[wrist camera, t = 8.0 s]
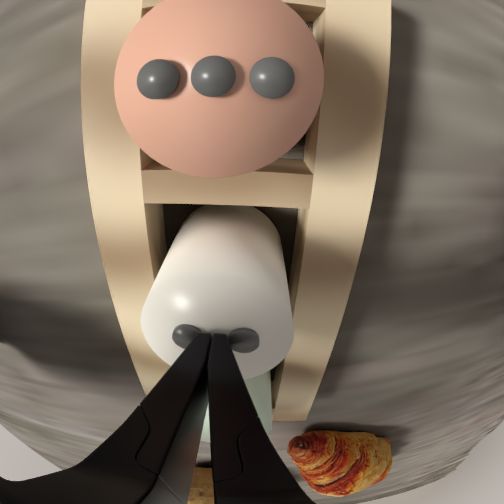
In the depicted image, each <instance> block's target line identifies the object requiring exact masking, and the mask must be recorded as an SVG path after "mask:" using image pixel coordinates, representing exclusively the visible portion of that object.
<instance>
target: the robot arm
mask: <svg viewBox="0 0 504 504" xmlns="http://www.w3.org/2000/svg"><path fill="white" fill-rule="evenodd" d="M208 404H209V427H210V446H211V462H212V477H213V490H214V504H316V503H315V502H313V501H312V500H311V499H310V498H309V497H308V496H307V495H306V493H305V492H304V491H303V490H302V489H301V487H300V486H299V485H298V483H297V482H296V480H295V479H294V477H293V476H292V474H291V473H290V472H289V470H288V469H287V467H286V466H285V464H284V463H283V461H282V460H281V458H280V456H279V455H278V453H277V452H276V450H275V448H274V447H273V445H272V443H271V441H270V439H269V437H268V435H267V433H266V431H265V429H264V427H263V425H262V422H261V420H260V418H259V417H258V413H257V411H256V408H255V406H254V404H253V401H252V399H251V396H250V394H249V391H248V389H247V386H246V384H245V381H244V379H243V376H242V374H241V371H240V369H239V366H238V364H237V361H236V358H235V356H234V353H233V351H232V348H231V345H230V343H229V340H228V337H227V335H226V334H222V333H214V334H213V337H212V334H211V333H206V332H199V333H198V334H197V335H196V336H195V337H194V338H193V340H192V341H191V342H190V343H189V345H188V346H187V347H186V348H185V349H184V351H183V352H182V353H181V354H180V356H179V357H178V358H177V359H176V360H175V362H174V363H173V364H172V365H171V367H170V368H169V369H168V370H167V372H166V373H165V374H164V375H163V376H162V378H161V379H160V380H159V381H158V382H157V384H156V385H155V386H154V387H153V389H152V390H151V391H150V392H149V393H148V395H147V396H146V397H145V398H144V400H143V401H142V402H141V403H140V405H139V406H138V407H137V408H136V409H135V410H134V412H133V413H132V414H131V415H130V416H129V417H128V418H127V420H126V421H125V422H124V423H123V424H122V425H121V426H120V427H119V428H118V429H117V430H116V431H115V432H114V433H113V434H112V435H111V436H110V437H109V438H108V439H106V440H105V441H104V442H103V443H102V444H101V445H100V446H99V447H98V448H97V449H95V450H94V451H93V452H92V453H91V454H90V455H89V456H88V457H86V458H85V459H84V460H83V461H81V462H80V463H79V464H77V465H75V466H73V467H71V468H68V469H65V470H62V471H59V472H55V473H51V474H48V475H44V476H40V477H36V478H32V479H28V480H24V481H9V480H6V479H4V478H2V477H0V504H187V502H188V497H189V492H190V487H191V482H192V478H193V473H194V468H195V463H196V458H197V453H198V449H199V444H200V439H201V434H202V430H203V425H204V420H205V416H206V411H207V406H208Z"/></svg>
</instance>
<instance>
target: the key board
mask: <svg viewBox="0 0 504 504" xmlns="http://www.w3.org/2000/svg"><path fill="white" fill-rule="evenodd" d="M162 1H164V0H86V6H85V14H84V24H83V37H82V55H81V110H82V129H83V142H84V153H85V163H86V171H87V179H88V187H89V194H90V200H91V206H92V212H93V218H94V223H95V229H96V234H97V239H98V243H99V248H100V253H101V257H102V261H103V266H104V270H105V274H106V278H107V282H108V285H109V289H110V293H111V296H112V300H113V304H114V307H115V310H116V314H117V317H118V320H119V323H120V327H121V330H122V333H123V336H124V339H125V342H126V345H127V348H128V350H129V353H130V356H131V359H132V362H133V364H134V367H135V370H136V372H137V375H138V377H139V380H140V382H141V385H142V387H143V390H144V392H145V395H146V396H147V395H148V393H149V392H150V391H151V390H152V389H153V387H154V386H155V385H156V384H157V382H158V381H159V380H160V379H161V378H162V376H163V375H164V374H165V373H166V372H167V370H168V369H169V368H170V367H171V366H170V365H169V364H167V363H166V362H165V361H163V360H162V359H161V358H160V357H159V356H158V355H157V354H156V353H155V352H154V351H153V350H152V349H151V347H150V346H149V344H148V343H147V341H146V339H145V337H144V334H143V332H142V327H141V313H142V309H143V306H144V303H145V301H146V299H147V297H148V294H149V292H150V290H151V288H152V286H153V283H154V281H155V279H156V277H157V275H158V273H159V270H160V268H161V266H162V264H163V262H164V260H165V258H166V256H167V245H166V235H165V225H164V213H163V203H165V204H214V205H242V206H265V207H284V208H298V216H297V225H296V233H295V241H294V249H293V257H292V265H291V272H290V279H289V287H288V290H289V297H290V304H291V311H292V318H293V326H294V339H293V343H292V346H291V348H290V350H289V352H288V354H287V355H286V356H285V358H284V359H283V360H282V361H281V362H280V363H279V364H278V365H276V371H275V376H274V381H271V402H272V421H305V420H306V418H307V416H308V413H309V411H310V409H311V406H312V404H313V401H314V398H315V396H316V393H317V391H318V388H319V385H320V383H321V380H322V377H323V375H324V372H325V369H326V366H327V363H328V361H329V358H330V355H331V352H332V349H333V346H334V343H335V340H336V337H337V334H338V331H339V328H340V324H341V321H342V318H343V315H344V311H345V308H346V305H347V301H348V298H349V294H350V291H351V287H352V283H353V280H354V276H355V272H356V268H357V265H358V261H359V257H360V253H361V248H362V244H363V240H364V236H365V231H366V227H367V222H368V218H369V213H370V208H371V203H372V198H373V193H374V187H375V182H376V176H377V170H378V164H379V158H380V151H381V144H382V137H383V130H384V122H385V113H386V104H387V93H388V82H389V67H390V48H391V0H281V1H283V2H284V3H286V4H287V5H288V6H289V7H291V8H292V9H293V10H294V11H295V12H296V13H297V14H298V15H299V16H300V17H301V18H302V19H303V20H304V21H307V22H313V35H314V37H315V40H316V42H317V44H318V46H319V50H320V53H321V56H322V61H323V68H324V86H323V93H322V98H321V102H320V105H319V108H318V111H317V113H316V115H315V117H314V120H313V122H312V123H311V125H310V127H309V128H308V130H307V131H306V138H305V149H304V160H293V159H277V160H276V161H274V162H272V163H270V164H269V165H267V166H265V167H263V168H260V169H258V170H255V171H253V172H250V173H246V174H243V175H239V176H233V177H226V178H204V177H196V176H191V175H186V174H183V173H180V172H177V171H174V170H172V169H170V168H168V167H166V166H164V165H162V164H160V163H159V162H157V161H155V160H154V159H152V158H151V157H150V156H149V155H147V154H146V153H145V152H144V151H143V150H142V149H141V148H140V147H139V146H138V145H137V144H136V143H135V142H134V141H133V139H132V138H131V136H130V135H129V133H128V132H127V130H126V128H125V127H124V125H123V123H122V121H121V118H120V115H119V112H118V110H117V105H116V100H115V93H114V77H115V69H116V64H117V60H118V57H119V54H120V51H121V49H122V46H123V44H124V42H125V41H126V39H127V37H128V35H129V34H130V32H131V31H132V29H133V28H134V26H135V25H136V24H137V23H138V22H139V21H140V20H141V18H142V17H143V16H144V15H145V14H146V13H148V12H149V11H150V10H151V9H152V8H153V7H155V6H156V5H158V4H159V3H161V2H162Z"/></svg>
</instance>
